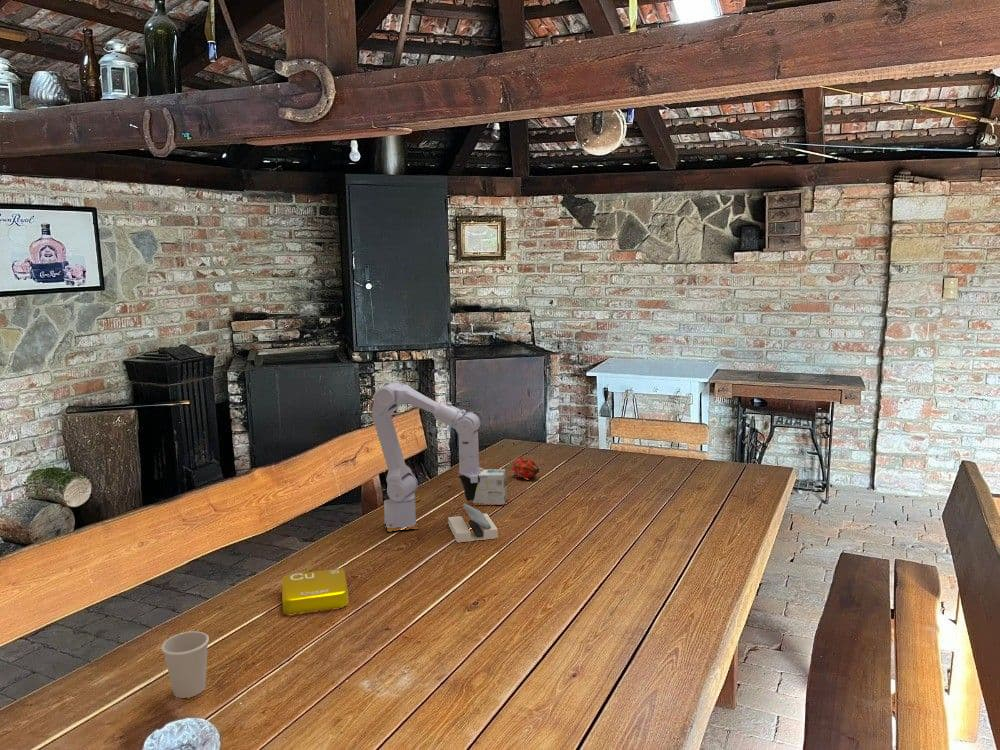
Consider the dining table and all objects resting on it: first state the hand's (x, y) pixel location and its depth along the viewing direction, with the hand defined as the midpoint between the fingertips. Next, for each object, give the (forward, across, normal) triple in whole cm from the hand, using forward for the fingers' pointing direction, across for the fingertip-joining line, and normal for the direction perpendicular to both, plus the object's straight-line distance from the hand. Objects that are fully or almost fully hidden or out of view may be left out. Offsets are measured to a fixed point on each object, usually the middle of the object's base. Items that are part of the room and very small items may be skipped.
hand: (470, 499), depth 221 cm
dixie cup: (+10, -65, +68) cm, 95 cm away
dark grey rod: (+9, 0, -1) cm, 9 cm away
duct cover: (+5, 0, -2) cm, 6 cm away
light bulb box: (+10, +25, -12) cm, 29 cm away
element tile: (+11, -31, +45) cm, 56 cm away
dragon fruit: (+10, +48, -30) cm, 58 cm away
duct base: (+10, 0, 0) cm, 10 cm away
